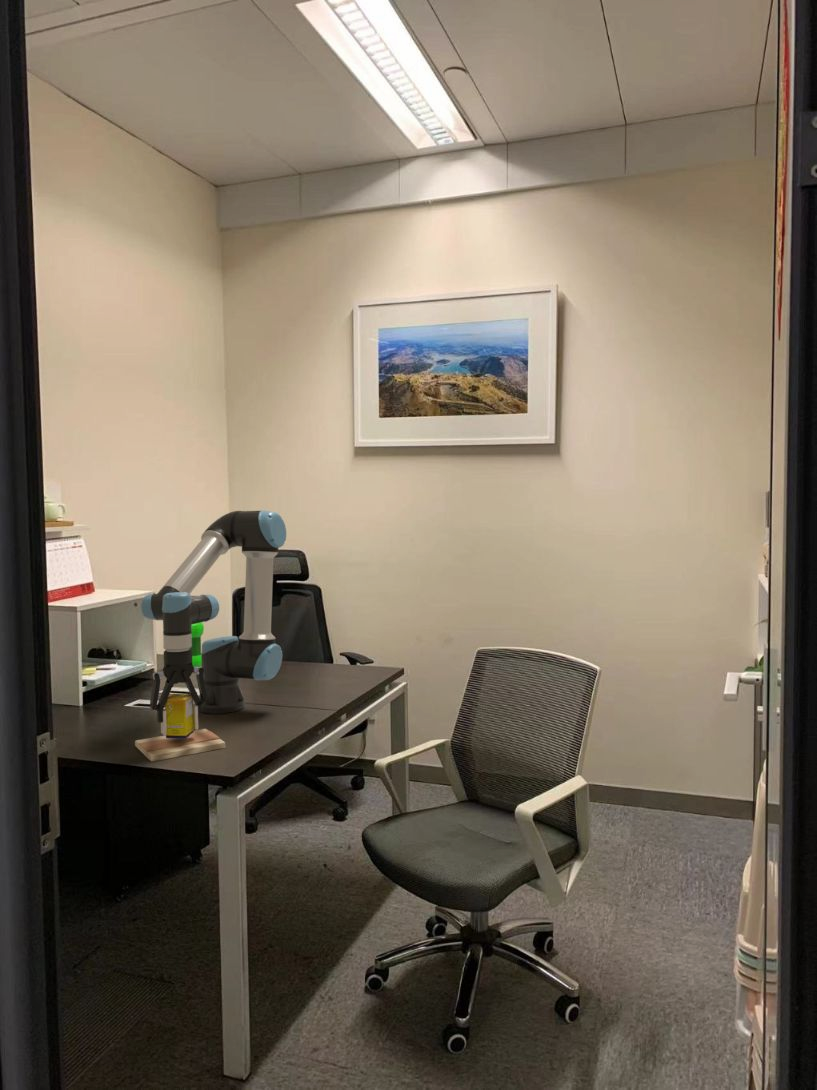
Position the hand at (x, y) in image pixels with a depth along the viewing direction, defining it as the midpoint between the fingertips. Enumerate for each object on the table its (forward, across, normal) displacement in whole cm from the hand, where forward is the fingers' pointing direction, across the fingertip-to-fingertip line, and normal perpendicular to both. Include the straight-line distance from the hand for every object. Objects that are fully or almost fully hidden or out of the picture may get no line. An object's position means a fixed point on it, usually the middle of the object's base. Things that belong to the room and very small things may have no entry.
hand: (179, 730), depth 216 cm
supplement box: (+1, 0, 0) cm, 1 cm away
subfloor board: (+4, 0, 0) cm, 4 cm away
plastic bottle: (+5, -35, -96) cm, 102 cm away
